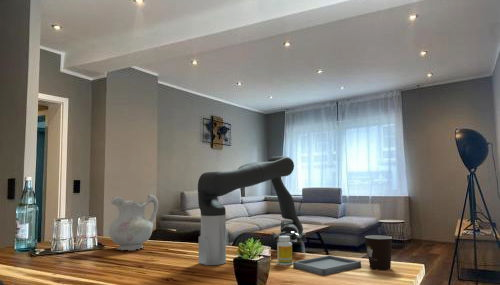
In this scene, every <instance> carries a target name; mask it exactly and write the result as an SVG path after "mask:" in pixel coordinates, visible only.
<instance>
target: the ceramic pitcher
mask: <svg viewBox="0 0 500 285" xmlns="http://www.w3.org/2000/svg"><path fill="white" fill-rule="evenodd" d="M150 203H153V211H152V213H151V216H150V219H149V218H147V217H146V215H145V210H146V209H145V208H146V206H148V205H149V204H150ZM110 204H112V205H114V206H116V208H117V210H118V215H117V218H115V219H114V220H113V221H112V222H111V223H110V224H109V227H108V234H109V238H110V239H111V241H112V242H113V243H114V244H117V245H118V248H117V250H120V251H123V250H128V251H137V250H136V249H138V250H141V249H140V248H142V249H144V248H143V247H144V245H143V243H144V244H145V243H146V242H147V241H149V239H150V238H151V236H152V233H153V228H154V220H155V218H156V216H157V214H158V211H159V200H158V199H157V197H156V195H155V194H148V195H147V198H146V200H145V201H140V202H137V201H134V200H125V198H122V197H119V196H115V197H112V199H111V201H110Z"/></svg>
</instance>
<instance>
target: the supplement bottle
mask: <svg viewBox="0 0 500 285" xmlns="http://www.w3.org/2000/svg"><path fill="white" fill-rule="evenodd" d="M279 241H280V242H279ZM279 241H278V242H276V255H277V257H276V258H277V261H276V262H277V264H278V265H279V266H291V265H292V264H293V262H294V261H293V244H292V243H291V242H289V241H290V236H279Z"/></svg>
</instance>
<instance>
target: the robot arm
mask: <svg viewBox="0 0 500 285" xmlns="http://www.w3.org/2000/svg"><path fill="white" fill-rule="evenodd" d="M294 168H295V164H294V161H293V159H292V158H290V157H288V156H285V155H284V156H282V155H281V156H278V155H276V156H271V157H270V158H269V159H268V160H267V161H256V162H251V163H246V164H243V165H241V166H239V167H238V168H236V169H234V170H227V171H207V172H204V173H202V174H200V176H199V178H198V180H197V181H198V182H197V198H198V200H197V201H198V208H199V211H200V236H198V263H199V264H201V265H203V266H218V265H223V264H226V263H227V238H226V237H227V231H226V230H227V228H226V226H227V225H226V224H227V221H226V220H227V219H226V218H227V217H226V215H227V214H226V213H227V211H226V207H225V206H224V205H222V204H221V203H220V202H219V198H218V197H223V196H225V195H228V194H230V193H231V192H234V191H236V190H238V189H245V188H249V187H253V186H256V185H259V184H261V183H265V182H267V181H271V183H272V186H273V189H274V191H275V193H276V194H275V195H276V197H277V201H278V204H279V205H278V206H279V211H280V213H281V218H282V219H284V220H290V221H285V222H282V223H281V224H280V232H278V233H276V232H271V233H270V234H269V238H270V239H269V241H270V242H274V243H278V242H280V241H279V236H290V241H289V242H291V243H292V245H293V244H295V243H300V242H302V241H303V242H306V240H307V239H306V237H307V236H306V232H303V231H304V227H303V224H302V223H301V221H300V219H299V217H298V214H297V209H296V206H295V201H294V198H293V196H292V194H291V193H290V192H289V190H288V189H287V188H286V186H285V183H284V182H283V180H282V178H283V177H288V176H290V175H291V174H292V173H293V172H294Z"/></svg>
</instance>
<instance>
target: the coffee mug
mask: <svg viewBox="0 0 500 285" xmlns="http://www.w3.org/2000/svg"><path fill="white" fill-rule="evenodd" d="M364 238H365V241H364V245H365V248H366V250H367V251H366V252H367V257H368V263H369V268H370V269H371V268H372V269H371V270H374V269H378V270H377V271H389V270H388V269H390V268H392V249H393V248H392V247H393V246H392V245H393V237H392V236H389V235H378V234H377V235H376V234H375V235H373V234H372V235H366V236H364ZM390 270H391V269H390Z"/></svg>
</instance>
